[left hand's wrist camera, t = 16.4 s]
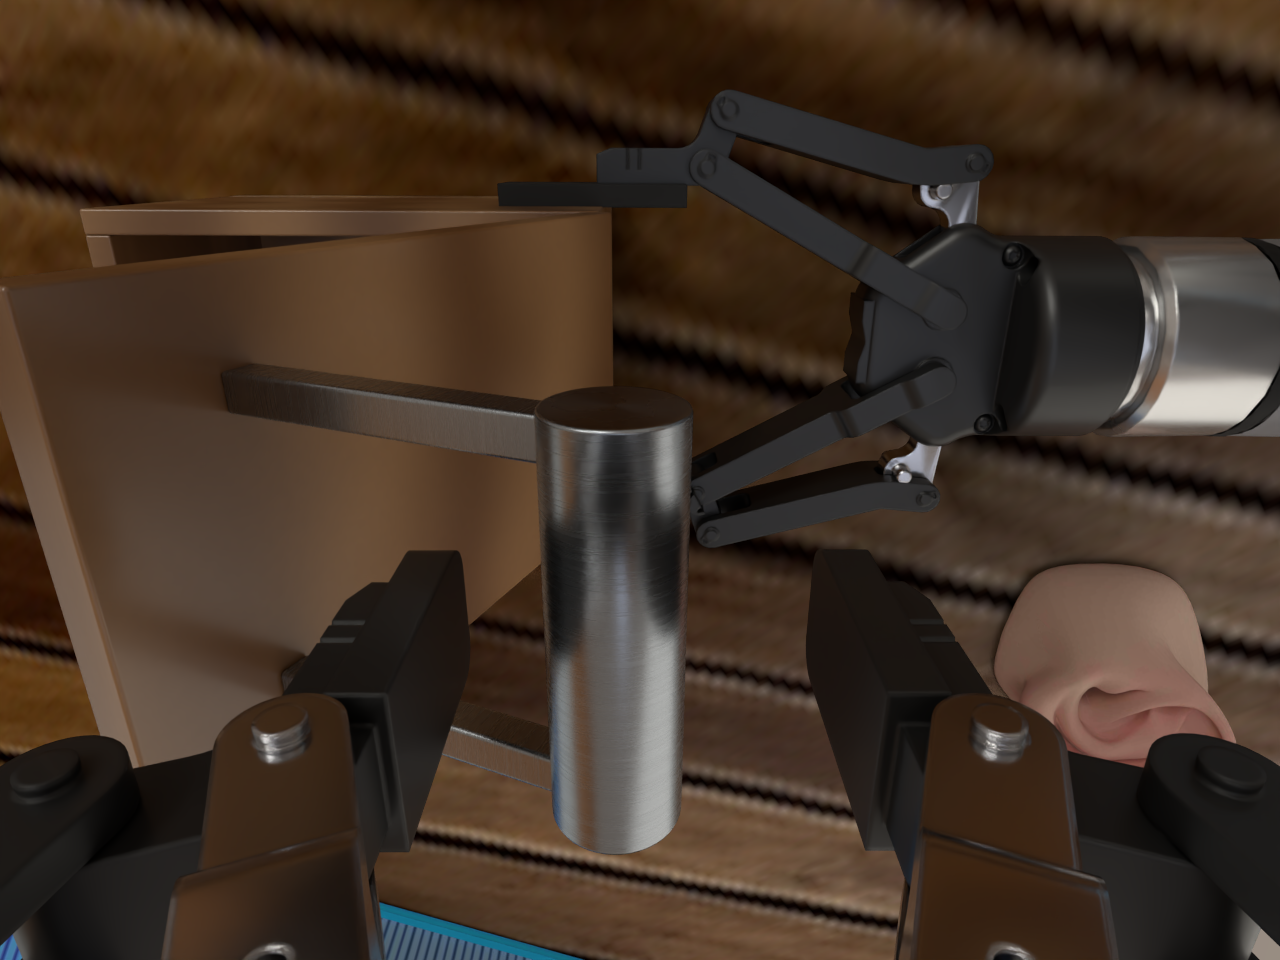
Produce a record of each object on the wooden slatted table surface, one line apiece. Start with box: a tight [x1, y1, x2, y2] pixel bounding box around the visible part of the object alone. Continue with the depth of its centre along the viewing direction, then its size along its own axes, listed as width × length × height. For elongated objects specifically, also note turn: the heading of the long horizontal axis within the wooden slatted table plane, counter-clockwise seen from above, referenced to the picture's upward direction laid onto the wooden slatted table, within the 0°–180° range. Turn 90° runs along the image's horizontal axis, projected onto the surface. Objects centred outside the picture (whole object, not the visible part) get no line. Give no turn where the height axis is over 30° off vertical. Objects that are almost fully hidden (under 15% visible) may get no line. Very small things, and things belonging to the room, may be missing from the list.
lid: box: [0, 212, 693, 855], centre depth 17 cm, size 17×10×8 cm
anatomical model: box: [994, 563, 1236, 768], centre depth 42 cm, size 13×4×12 cm
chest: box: [80, 195, 613, 347], centre depth 32 cm, size 16×10×11 cm, turn 90°
